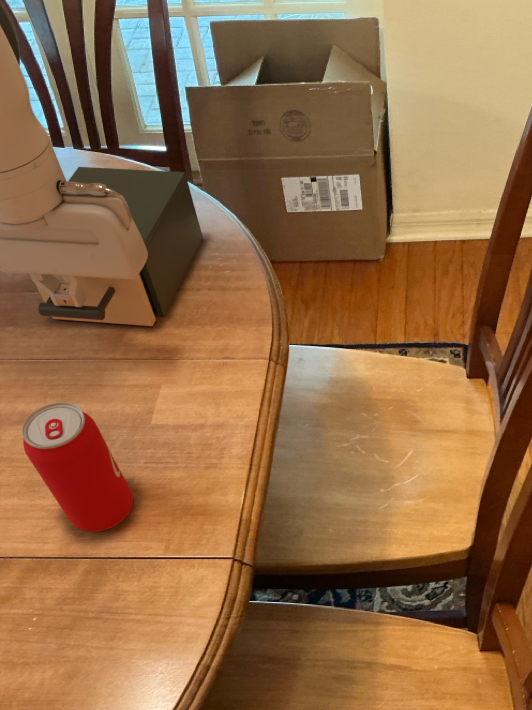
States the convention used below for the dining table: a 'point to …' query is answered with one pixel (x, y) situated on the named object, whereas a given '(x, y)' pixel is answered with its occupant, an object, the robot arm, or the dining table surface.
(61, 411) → the beverage can
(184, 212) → the cabinet
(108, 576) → the dining table surface
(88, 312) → the drawer
